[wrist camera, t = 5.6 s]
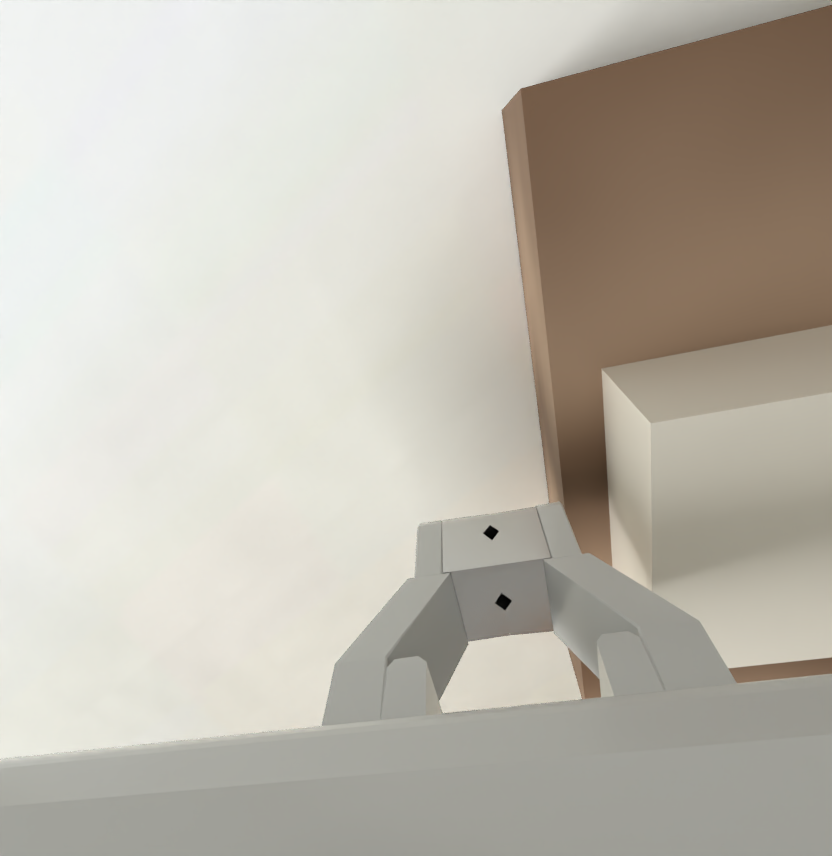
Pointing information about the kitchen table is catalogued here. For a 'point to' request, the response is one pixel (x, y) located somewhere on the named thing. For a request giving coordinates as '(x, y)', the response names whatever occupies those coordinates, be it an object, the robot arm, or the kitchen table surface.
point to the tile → (729, 490)
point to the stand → (668, 232)
